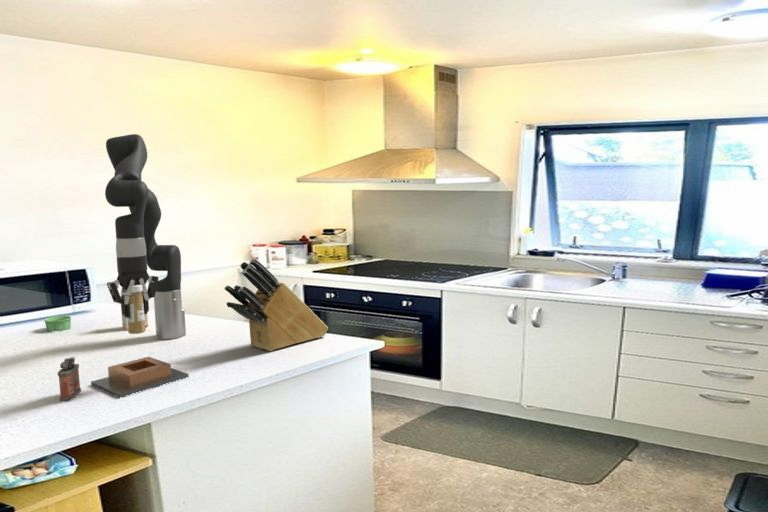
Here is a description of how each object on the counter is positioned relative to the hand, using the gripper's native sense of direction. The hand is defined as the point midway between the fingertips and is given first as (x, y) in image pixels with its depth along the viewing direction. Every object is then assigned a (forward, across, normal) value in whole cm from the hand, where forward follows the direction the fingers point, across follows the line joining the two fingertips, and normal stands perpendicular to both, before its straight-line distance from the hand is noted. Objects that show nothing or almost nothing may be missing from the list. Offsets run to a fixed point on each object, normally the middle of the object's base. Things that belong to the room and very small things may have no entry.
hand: (135, 315), depth 159 cm
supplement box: (+19, -30, -60) cm, 70 cm away
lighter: (+19, +17, -4) cm, 26 cm away
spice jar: (+5, 0, 0) cm, 5 cm away
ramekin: (+19, -11, -82) cm, 85 cm away
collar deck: (+19, 0, 0) cm, 19 cm away
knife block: (+19, -48, +3) cm, 52 cm away
